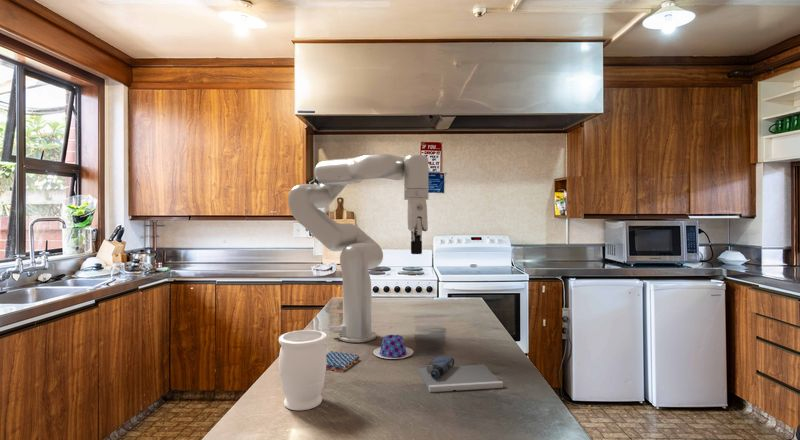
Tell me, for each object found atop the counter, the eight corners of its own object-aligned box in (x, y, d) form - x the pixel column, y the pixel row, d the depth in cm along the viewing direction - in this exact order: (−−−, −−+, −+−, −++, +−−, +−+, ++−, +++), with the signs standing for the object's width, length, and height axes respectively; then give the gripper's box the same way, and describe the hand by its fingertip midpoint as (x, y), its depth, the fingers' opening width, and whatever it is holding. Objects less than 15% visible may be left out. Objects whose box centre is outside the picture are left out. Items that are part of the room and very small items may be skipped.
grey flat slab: (429, 392, 103) (429, 387, 103) (418, 370, 117) (418, 365, 117) (503, 387, 105) (503, 382, 105) (483, 366, 119) (484, 362, 119)
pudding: (375, 347, 137) (375, 331, 137) (413, 348, 136) (413, 331, 136) (371, 361, 125) (371, 342, 125) (413, 361, 124) (413, 343, 124)
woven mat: (309, 369, 119) (309, 361, 119) (329, 357, 129) (329, 350, 129) (342, 374, 115) (342, 366, 115) (361, 361, 125) (361, 354, 125)
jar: (283, 393, 102) (283, 329, 102) (328, 391, 103) (328, 328, 103) (274, 414, 92) (274, 343, 91) (324, 412, 92) (324, 342, 92)
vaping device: (455, 366, 118) (438, 381, 107) (437, 364, 121) (419, 379, 110) (455, 356, 118) (437, 370, 108) (437, 355, 121) (418, 368, 110)
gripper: (433, 194, 129) (433, 256, 130) (423, 195, 144) (423, 251, 145) (408, 194, 128) (408, 256, 129) (401, 195, 143) (401, 251, 143)
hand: (416, 253), depth 137 cm, fingers closed
